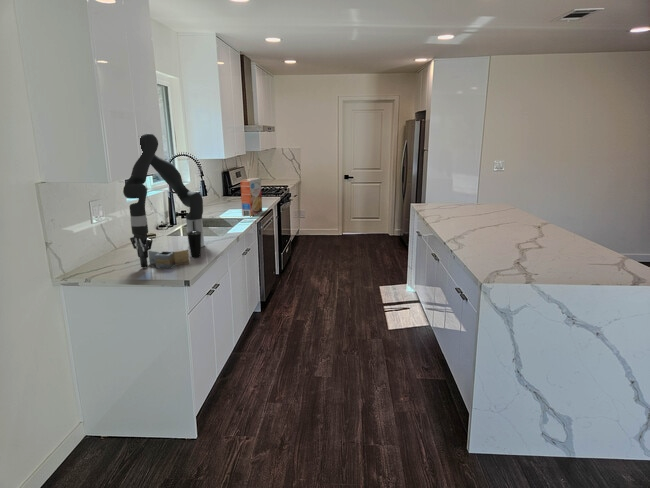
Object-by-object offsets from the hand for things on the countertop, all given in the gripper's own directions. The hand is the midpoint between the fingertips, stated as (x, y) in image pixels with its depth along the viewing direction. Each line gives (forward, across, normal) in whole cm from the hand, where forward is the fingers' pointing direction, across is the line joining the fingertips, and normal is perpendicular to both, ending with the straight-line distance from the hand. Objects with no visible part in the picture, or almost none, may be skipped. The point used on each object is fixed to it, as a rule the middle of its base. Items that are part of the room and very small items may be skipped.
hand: (143, 257), depth 215 cm
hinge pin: (+5, 0, 0) cm, 5 cm away
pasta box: (+7, -40, +150) cm, 156 cm away
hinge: (+6, +6, +9) cm, 12 cm away
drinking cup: (+6, +9, +28) cm, 30 cm away
